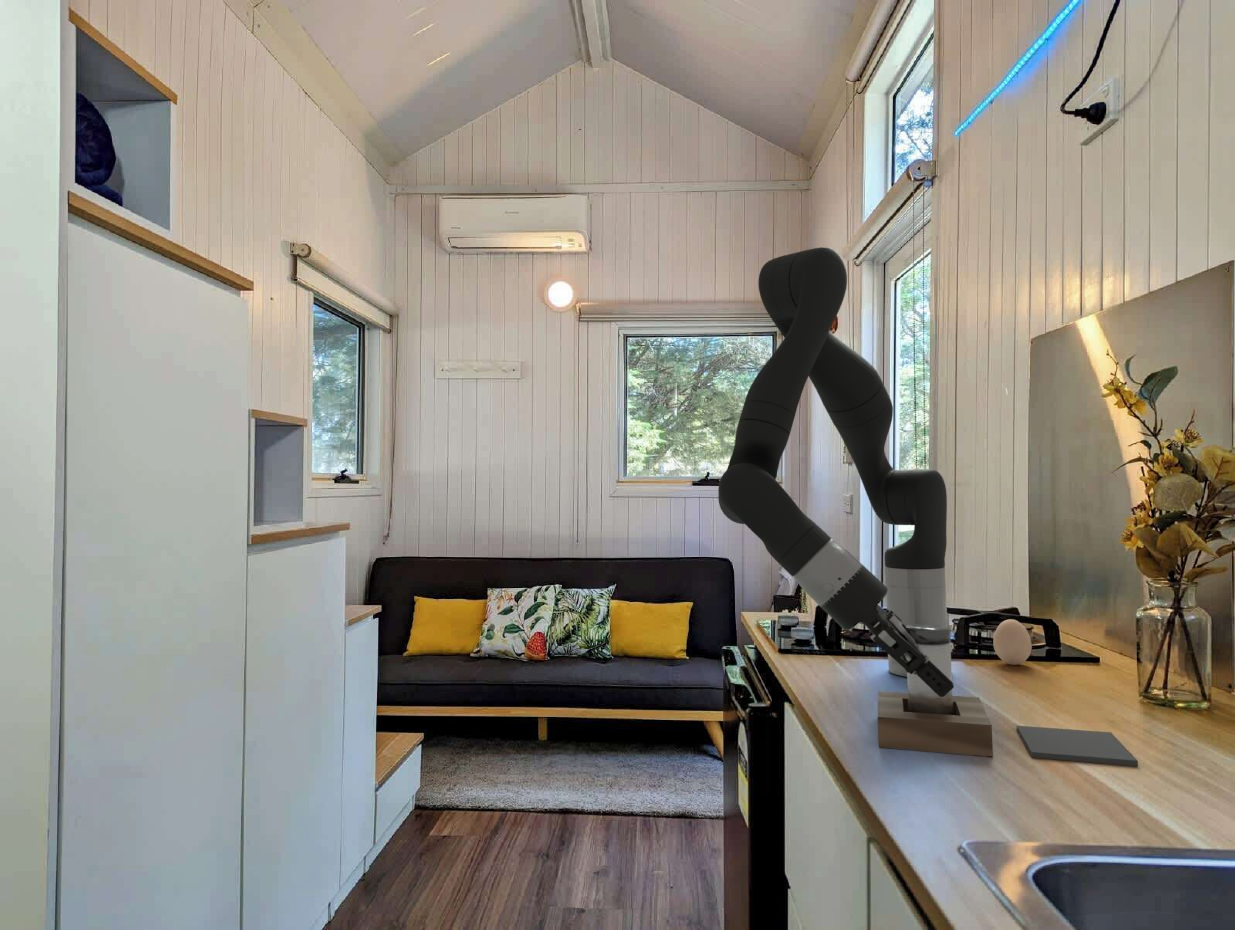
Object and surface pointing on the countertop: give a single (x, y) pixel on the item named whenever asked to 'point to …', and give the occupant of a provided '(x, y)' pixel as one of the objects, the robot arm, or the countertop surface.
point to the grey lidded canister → (938, 650)
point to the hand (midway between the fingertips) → (945, 685)
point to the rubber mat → (1075, 745)
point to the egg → (1012, 642)
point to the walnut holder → (934, 726)
